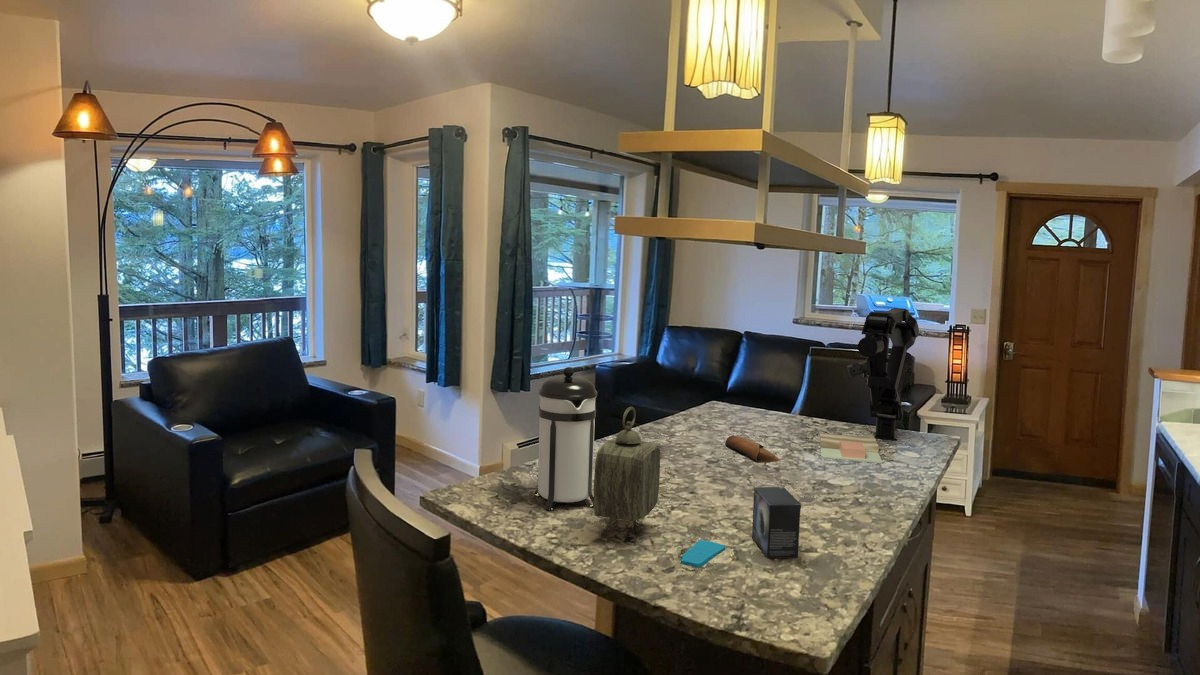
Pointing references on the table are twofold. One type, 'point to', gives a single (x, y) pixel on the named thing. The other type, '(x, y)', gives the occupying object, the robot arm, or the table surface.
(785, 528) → the small box
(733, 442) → the sunglasses case
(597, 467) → the tabletop clock
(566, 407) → the coffee press
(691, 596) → the table surface
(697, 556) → the sponge
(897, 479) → the table surface
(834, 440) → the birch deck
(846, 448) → the coral tile
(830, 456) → the sage mat
